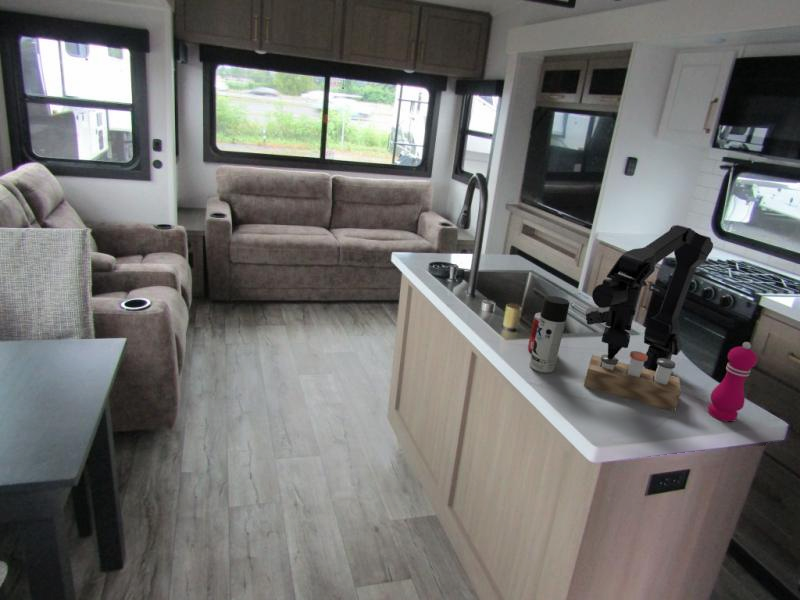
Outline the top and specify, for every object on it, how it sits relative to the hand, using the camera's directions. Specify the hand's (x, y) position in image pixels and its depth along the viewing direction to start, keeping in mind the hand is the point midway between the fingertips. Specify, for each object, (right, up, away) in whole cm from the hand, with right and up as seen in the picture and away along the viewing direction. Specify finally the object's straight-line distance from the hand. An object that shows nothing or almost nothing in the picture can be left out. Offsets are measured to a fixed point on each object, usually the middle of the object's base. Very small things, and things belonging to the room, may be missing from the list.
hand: (609, 358), depth 145 cm
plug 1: (-1, -6, +2) cm, 7 cm away
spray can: (-16, -4, +7) cm, 18 cm away
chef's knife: (+22, -10, +4) cm, 24 cm away
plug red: (+5, -5, -1) cm, 8 cm away
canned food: (-14, 0, +17) cm, 22 cm away
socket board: (+5, -8, 0) cm, 10 cm away
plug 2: (+11, -7, -3) cm, 14 cm away
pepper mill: (+25, -14, -7) cm, 29 cm away
